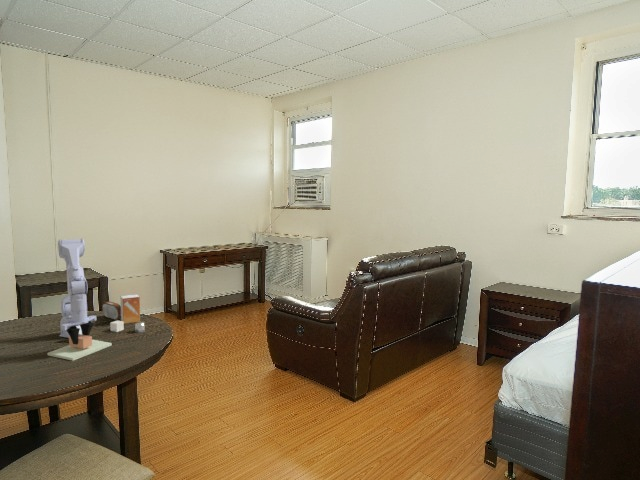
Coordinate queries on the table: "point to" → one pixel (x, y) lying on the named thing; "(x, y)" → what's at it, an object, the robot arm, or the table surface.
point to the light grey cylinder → (140, 327)
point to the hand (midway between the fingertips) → (80, 342)
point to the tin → (111, 310)
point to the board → (78, 350)
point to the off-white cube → (117, 326)
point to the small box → (130, 308)
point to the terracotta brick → (82, 341)
